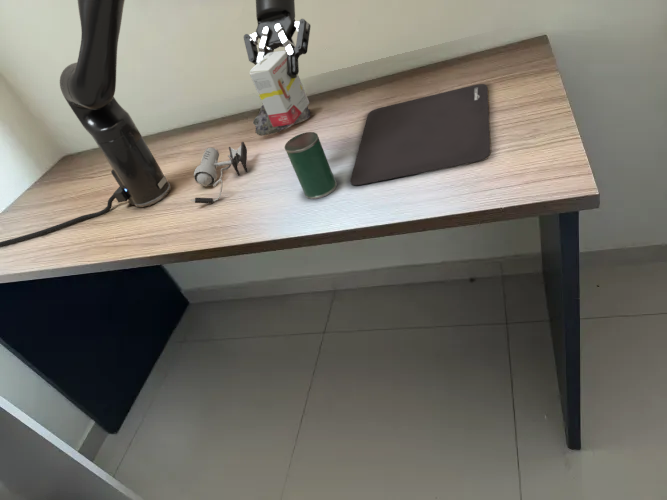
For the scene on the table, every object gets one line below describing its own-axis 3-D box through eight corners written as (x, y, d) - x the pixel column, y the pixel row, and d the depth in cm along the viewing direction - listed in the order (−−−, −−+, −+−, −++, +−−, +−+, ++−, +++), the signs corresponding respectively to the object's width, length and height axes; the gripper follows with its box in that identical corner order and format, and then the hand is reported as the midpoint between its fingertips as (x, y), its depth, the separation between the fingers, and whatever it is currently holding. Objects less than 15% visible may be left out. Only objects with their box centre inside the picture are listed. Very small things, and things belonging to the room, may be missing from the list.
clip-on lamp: (240, 210, 137) (253, 152, 148) (229, 189, 132) (243, 131, 144) (190, 216, 140) (207, 158, 151) (177, 196, 135) (196, 138, 147)
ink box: (293, 125, 123) (268, 69, 117) (272, 128, 126) (247, 73, 119) (311, 102, 129) (288, 47, 122) (290, 105, 131) (267, 52, 125)
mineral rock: (258, 142, 154) (241, 105, 149) (266, 122, 163) (250, 86, 157) (308, 129, 151) (292, 91, 145) (313, 108, 159) (299, 71, 153)
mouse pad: (490, 159, 114) (490, 158, 114) (348, 187, 123) (348, 186, 123) (487, 82, 138) (487, 81, 138) (368, 111, 147) (368, 110, 147)
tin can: (300, 201, 126) (279, 153, 119) (310, 181, 130) (291, 135, 124) (331, 197, 123) (311, 148, 117) (340, 177, 128) (322, 129, 121)
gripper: (316, -5, 126) (320, 78, 124) (253, 13, 131) (257, 93, 130) (298, -23, 119) (303, 65, 117) (233, -3, 125) (236, 81, 123)
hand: (278, 79), depth 123 cm, fingers closed on ink box, 5 cm apart
